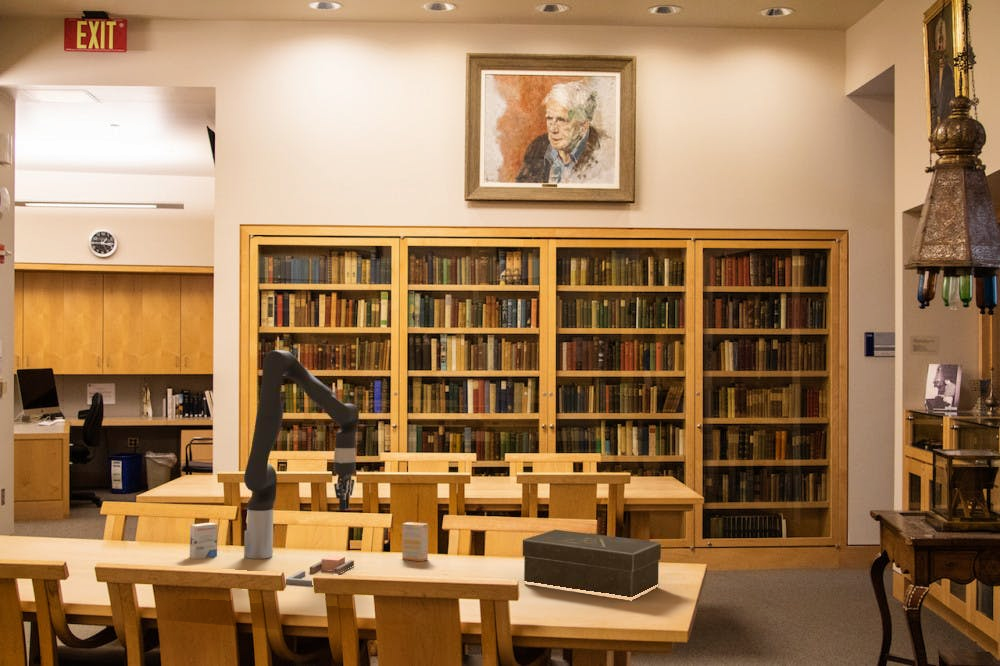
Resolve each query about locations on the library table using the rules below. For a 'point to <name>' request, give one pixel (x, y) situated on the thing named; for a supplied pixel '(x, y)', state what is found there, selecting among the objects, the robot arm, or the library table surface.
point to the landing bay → (296, 579)
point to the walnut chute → (336, 570)
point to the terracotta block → (332, 562)
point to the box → (591, 562)
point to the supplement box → (415, 541)
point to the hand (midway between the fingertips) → (344, 509)
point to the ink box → (203, 540)
